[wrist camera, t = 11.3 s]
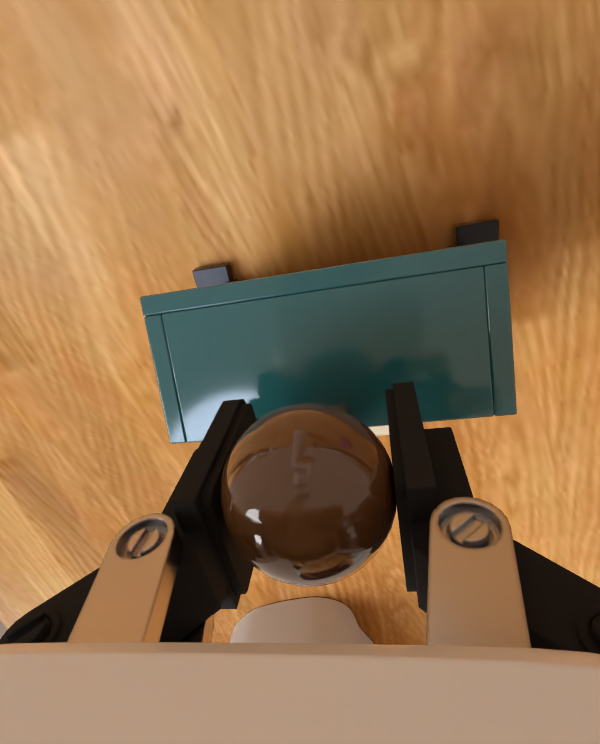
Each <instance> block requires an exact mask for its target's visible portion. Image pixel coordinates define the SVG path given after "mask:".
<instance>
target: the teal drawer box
mask: <svg viewBox="0 0 600 744" xmlns="http://www.w3.org/2000/svg"><path fill="white" fill-rule="evenodd" d="M507 260H508V259H507V243H506V240H505V239H502V240H496V241H489V242H483V243H477V244H471V245H464V246H458V247H452V248H445V249H439V250H433V251H426V252H420V253H414V254H408V255H401V256H395V257H389V258H382V259H376V260H370V261H363V262H357V263H351V264H344V265H338V266H332V267H326V268H319V269H313V270H307V271H300V272H294V273H288V274H281V275H275V276H269V277H263V278H256V279H250V280H244V281H237V282H231V283H225V284H218V285H212V286H206V287H199V288H193V289H187V290H181V291H174V292H168V293H162V294H155V295H149V296H143V297H140V301H141V306H142V311H143V315H144V316H146V317H145V318H144V319H145V324H146V329H147V333H148V338H149V343H150V348H151V353H152V358H153V362H154V367H155V372H156V377H157V382H158V386H159V391H160V396H161V401H162V406H163V410H164V415H165V420H166V425H167V430H168V435H169V439H170V443H171V444H176V443H186V442H201V441H202V440H203V438H204V437H205V435H206V433H207V431H208V429H209V427H210V425H211V423H212V421H213V419H214V417H215V415H216V413H217V411H218V410H219V408H220V406H221V404H222V402H223V401H228V400H237V399H244V400H245V402H246V404H247V403H251V404H252V406H253V409H254V413H255V416H256V421H255V422H254V423H252V424H251V425H250V426H249V427H248V428H247V429H246V430H245V431H244V432H243V433H242V434H241V436H240V437H239V438H238V440H237V441H236V443H235V444H234V446H233V447H232V449H231V451H230V453H229V455H228V457H227V460H226V463H225V466H224V469H223V472H222V478H221V485H220V503H221V511H222V515H223V519H224V522H225V526H226V529H227V531H228V533H229V536H230V538H231V539H232V541H233V543H234V544H235V546H236V547H237V549H238V551H239V552H240V553H241V554H242V555H243V556H244V557H245V559H246V560H247V561H248V562H249V563H250V564H251V565H253V566H254V567H255V568H256V569H258V570H259V571H261V572H262V573H263V574H265V575H267V576H269V577H271V578H273V579H275V580H277V581H280V582H283V583H287V584H292V585H296V586H307V587H312V586H322V585H327V584H332V583H335V582H338V581H341V580H343V579H345V578H347V577H349V576H351V575H353V574H354V573H356V572H357V571H359V570H360V569H362V568H363V567H364V566H365V565H366V564H367V563H368V562H369V561H370V560H371V559H372V558H373V557H374V556H375V555H376V554H377V553H378V551H379V550H380V548H381V547H382V545H383V544H384V542H385V540H386V539H387V537H388V534H389V532H390V530H391V527H392V524H393V521H394V517H395V513H396V505H397V503H396V494H395V485H394V475H393V466H392V463H391V460H390V458H389V456H388V454H387V452H386V450H385V448H384V446H383V445H382V443H381V442H380V440H379V439H378V437H377V436H376V435H375V434H374V433H373V432H372V430H371V429H370V428H369V427H375V426H386V425H388V416H387V406H386V396H385V389H393V384H392V383H400V382H410V381H413V382H414V387H415V391H416V396H417V400H418V405H419V409H420V414H421V418H422V422H433V421H444V420H456V419H468V418H479V417H491V416H494V415H495V416H503V415H515V414H517V406H516V390H515V374H514V357H513V341H512V324H511V308H510V292H509V275H508V264H507V263H506V262H507Z"/></svg>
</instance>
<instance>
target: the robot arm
mask: <svg viewBox="0 0 600 744" xmlns="http://www.w3.org/2000/svg"><path fill="white" fill-rule="evenodd" d="M392 384H393V389H385V396H386V406H387V416H388V426H389V436H390V446H391V455H392V465H393V475H394V485H395V494H396V503H397V511H398V520H399V528H400V536H401V545H402V553H403V562H404V570H405V578H406V587H407V592H411V591H417V596H418V604H419V607H420V608H421V609H422V610H423V611H424V612H425V613H427V631H426V645H384V644H311V643H211V642H212V635H213V628H214V614H215V613H216V612H217V611H219V610H220V609H237V606H238V602H239V599H240V595H241V594H245V593H246V592H247V590H248V587H249V583H250V579H251V575H252V571H253V567H254V566H253V565H251V564H250V563H249V562H248V561H247V560H246V559H245V557H244V556H243V555H242V554H241V553H240V552H239V551H238V549H237V547H236V546H235V544H234V543H233V541H232V539H231V538H230V536H229V533H228V531H227V529H226V526H225V522H224V519H223V515H222V511H221V503H220V485H221V478H222V472H223V469H224V466H225V463H226V460H227V457H228V455H229V453H230V451H231V449H232V447H233V446H234V444H235V443H236V441H237V440H238V438H239V437H240V436H241V434H242V433H243V432H244V431H245V430H246V429H247V428H248V427H249V426H250V425H251V424H252V423H254V422H255V421H256V416H255V413H254V409H253V406H252V404H251V403H247V404H246V402H245V400H244V399H237V400H228V401H223V402H222V404H221V406H220V408H219V410H218V411H217V413H216V415H215V417H214V419H213V421H212V423H211V425H210V427H209V429H208V431H207V433H206V435H205V437H204V438H203V440H202V442H201V444H200V446H199V448H198V449H196V450H195V452H194V453H193V455H192V457H191V459H190V461H189V463H188V465H187V466H186V468H185V470H184V472H183V474H182V476H181V478H180V480H179V482H178V484H177V485H176V487H175V489H174V491H173V493H172V495H171V497H170V499H169V501H168V503H167V504H166V506H165V508H164V510H163V512H162V514H161V513H155V514H148V515H145V516H141V517H139V518H137V519H135V520H133V521H131V522H130V523H129V524H127V525H126V526H124V527H123V528H122V529H121V530H120V531H119V532H118V533H117V534H116V535H115V537H114V539H113V540H112V542H111V544H110V546H109V548H108V551H107V553H106V555H105V557H104V560H103V562H102V564H101V566H100V568H98V569H96V570H95V571H93V572H92V573H90V574H88V575H87V576H85V577H84V578H82V579H81V580H79V581H77V582H76V583H74V584H73V585H71V586H69V587H68V588H66V589H65V590H63V591H61V592H60V593H58V594H57V595H55V596H53V597H52V598H50V599H49V600H47V601H46V602H44V603H42V604H41V605H39V606H38V607H36V608H34V609H33V610H31V611H30V612H28V613H27V614H25V615H24V616H23V617H21V618H20V619H18V620H17V621H16V622H15V623H14V624H13V625H12V626H11V627H10V628H9V629H8V630H7V631H6V632H5V634H4V635H3V636H2V638H1V639H0V744H600V588H599V587H597V586H596V585H594V584H592V583H590V582H588V581H587V580H585V579H583V578H581V577H579V576H578V575H576V574H574V573H572V572H570V571H569V570H567V569H565V568H563V567H562V566H560V565H558V564H556V563H554V562H553V561H551V560H549V559H547V558H545V557H544V556H542V555H540V554H538V553H536V552H535V551H533V550H531V549H529V548H527V547H526V546H524V545H522V544H520V543H518V542H517V541H515V540H513V537H512V531H511V526H510V524H509V521H508V519H507V517H506V516H505V515H504V513H503V512H502V511H501V510H500V509H499V508H497V507H496V506H494V505H493V504H491V503H489V502H486V501H484V500H481V499H478V498H473V495H472V492H471V488H470V485H469V482H468V479H467V476H466V473H465V469H464V466H463V463H462V460H461V457H460V454H459V451H458V447H457V444H456V441H455V438H454V435H453V432H452V429H451V428H450V427H446V428H434V429H424V427H423V423H422V418H421V414H420V409H419V405H418V400H417V396H416V391H415V387H414V382H413V381H410V382H400V383H392Z"/></svg>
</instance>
